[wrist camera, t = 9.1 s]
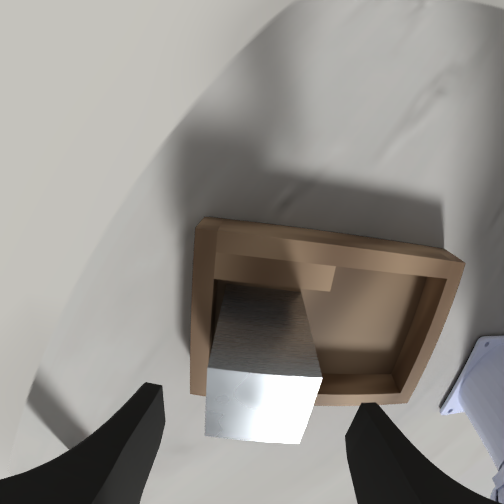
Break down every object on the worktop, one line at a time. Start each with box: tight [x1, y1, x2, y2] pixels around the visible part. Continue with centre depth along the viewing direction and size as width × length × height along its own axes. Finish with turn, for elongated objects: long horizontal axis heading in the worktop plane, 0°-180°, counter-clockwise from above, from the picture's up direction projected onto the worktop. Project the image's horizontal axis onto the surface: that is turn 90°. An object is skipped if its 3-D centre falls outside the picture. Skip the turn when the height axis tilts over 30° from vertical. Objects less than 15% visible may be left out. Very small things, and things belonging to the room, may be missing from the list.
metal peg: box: [205, 284, 322, 443], centre depth 14 cm, size 4×4×7 cm
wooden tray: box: [190, 217, 465, 406], centre depth 17 cm, size 14×10×2 cm
